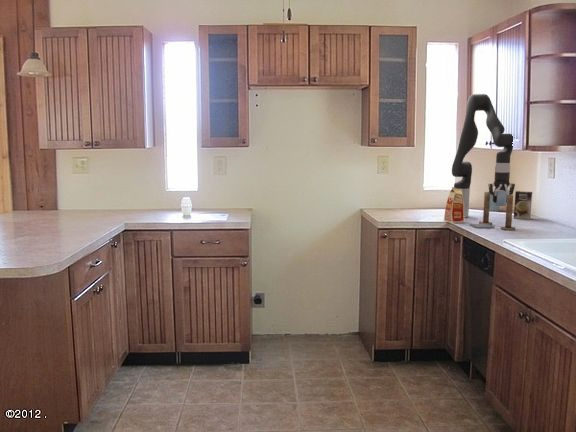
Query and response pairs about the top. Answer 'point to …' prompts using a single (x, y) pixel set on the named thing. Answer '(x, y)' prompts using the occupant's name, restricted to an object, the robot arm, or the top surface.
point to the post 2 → (509, 214)
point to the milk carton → (455, 207)
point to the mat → (482, 226)
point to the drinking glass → (493, 205)
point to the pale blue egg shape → (501, 198)
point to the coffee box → (522, 205)
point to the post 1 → (486, 209)
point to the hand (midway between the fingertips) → (500, 202)
